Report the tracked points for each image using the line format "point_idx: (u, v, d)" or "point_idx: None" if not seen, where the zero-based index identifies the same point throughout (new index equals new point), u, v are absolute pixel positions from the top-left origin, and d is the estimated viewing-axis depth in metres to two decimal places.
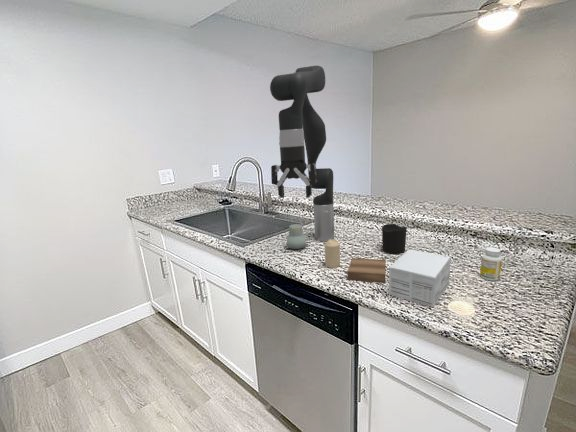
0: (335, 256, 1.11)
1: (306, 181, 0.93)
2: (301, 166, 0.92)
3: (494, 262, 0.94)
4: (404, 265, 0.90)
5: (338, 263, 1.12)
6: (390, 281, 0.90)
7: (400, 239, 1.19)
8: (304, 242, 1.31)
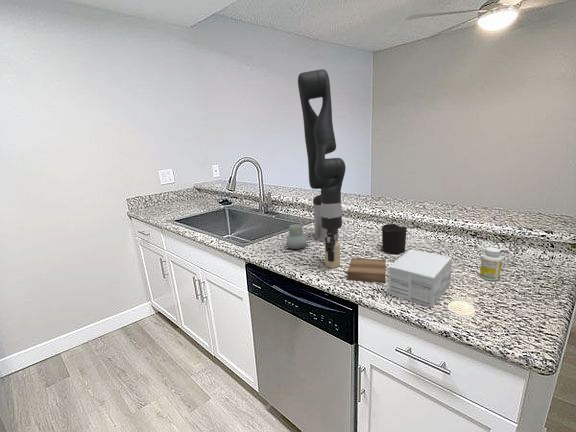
0: (335, 256, 1.11)
1: None
2: (336, 228, 1.14)
3: (494, 262, 0.94)
4: (404, 264, 0.90)
5: (338, 263, 1.12)
6: (389, 281, 0.91)
7: (400, 239, 1.19)
8: (304, 242, 1.31)
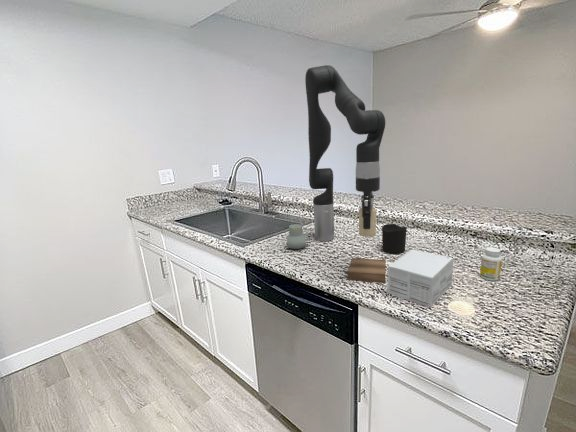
0: (371, 223, 0.99)
1: None
2: (371, 193, 1.02)
3: (494, 262, 0.94)
4: (403, 264, 0.90)
5: (374, 231, 1.00)
6: (389, 280, 0.91)
7: (400, 239, 1.19)
8: (304, 242, 1.31)
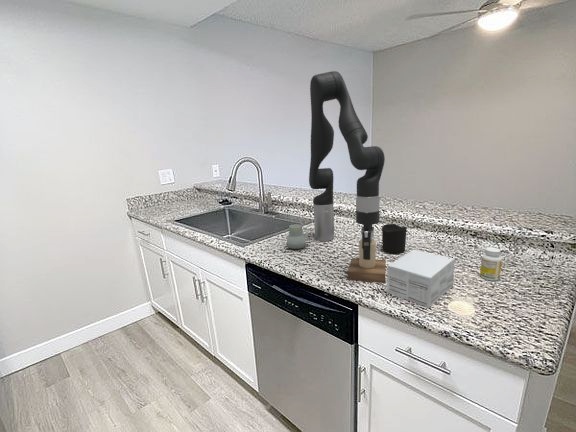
0: (370, 256, 1.02)
1: None
2: (371, 224, 1.04)
3: (494, 262, 0.94)
4: (403, 264, 0.90)
5: (374, 263, 1.03)
6: (388, 279, 0.91)
7: (400, 239, 1.19)
8: (304, 242, 1.31)
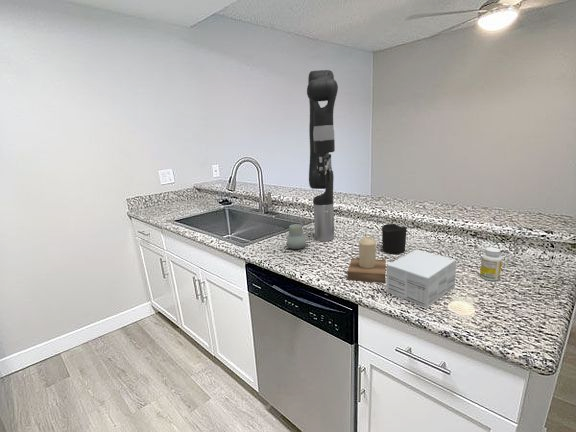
0: (370, 256, 1.02)
1: (330, 168, 1.16)
2: (328, 156, 1.14)
3: (494, 262, 0.94)
4: (403, 263, 0.91)
5: (374, 263, 1.03)
6: (388, 279, 0.92)
7: (400, 239, 1.19)
8: (304, 242, 1.31)
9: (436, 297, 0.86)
